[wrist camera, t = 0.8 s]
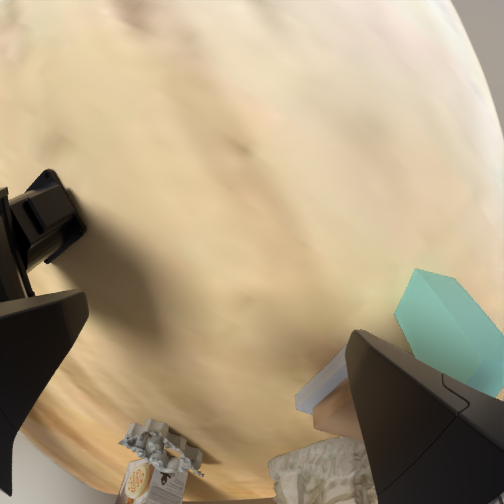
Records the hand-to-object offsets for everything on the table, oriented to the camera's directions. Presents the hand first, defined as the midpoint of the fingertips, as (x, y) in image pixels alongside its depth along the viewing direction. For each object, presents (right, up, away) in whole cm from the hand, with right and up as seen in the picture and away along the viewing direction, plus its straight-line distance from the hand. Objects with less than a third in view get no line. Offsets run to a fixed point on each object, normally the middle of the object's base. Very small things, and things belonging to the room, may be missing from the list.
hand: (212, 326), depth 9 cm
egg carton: (-10, -23, +26) cm, 36 cm away
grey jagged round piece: (+13, -28, +26) cm, 40 cm away
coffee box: (-14, -32, +30) cm, 46 cm away
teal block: (+16, -1, +14) cm, 21 cm away
